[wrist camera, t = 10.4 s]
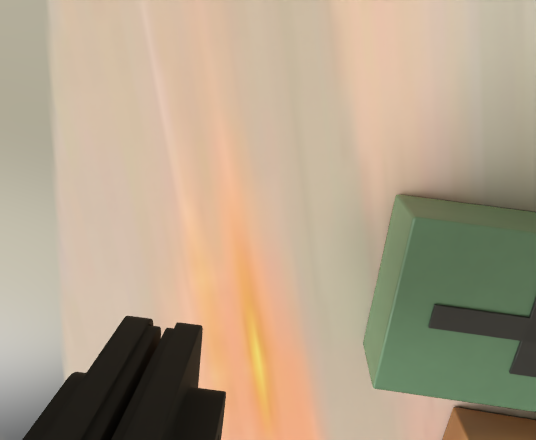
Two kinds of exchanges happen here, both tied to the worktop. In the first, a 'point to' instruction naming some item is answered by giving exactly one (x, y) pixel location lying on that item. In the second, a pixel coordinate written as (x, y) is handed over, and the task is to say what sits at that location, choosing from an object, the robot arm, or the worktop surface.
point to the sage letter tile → (456, 304)
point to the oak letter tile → (488, 426)
